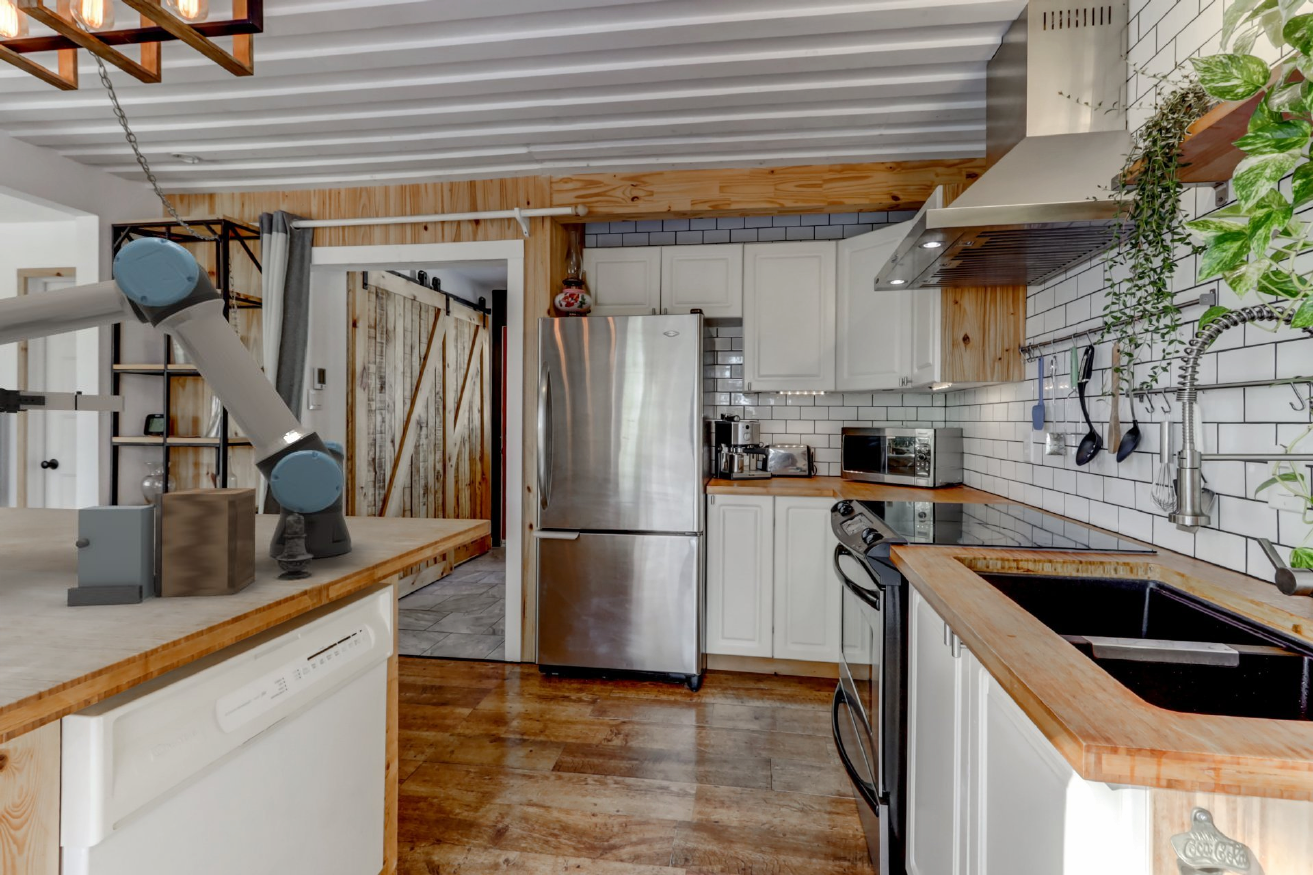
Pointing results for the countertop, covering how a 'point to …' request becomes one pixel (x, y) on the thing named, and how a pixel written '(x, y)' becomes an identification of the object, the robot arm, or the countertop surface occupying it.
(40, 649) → the countertop surface
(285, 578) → the salt shaker
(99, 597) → the hinge bracket
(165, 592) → the cabinet
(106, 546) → the door
